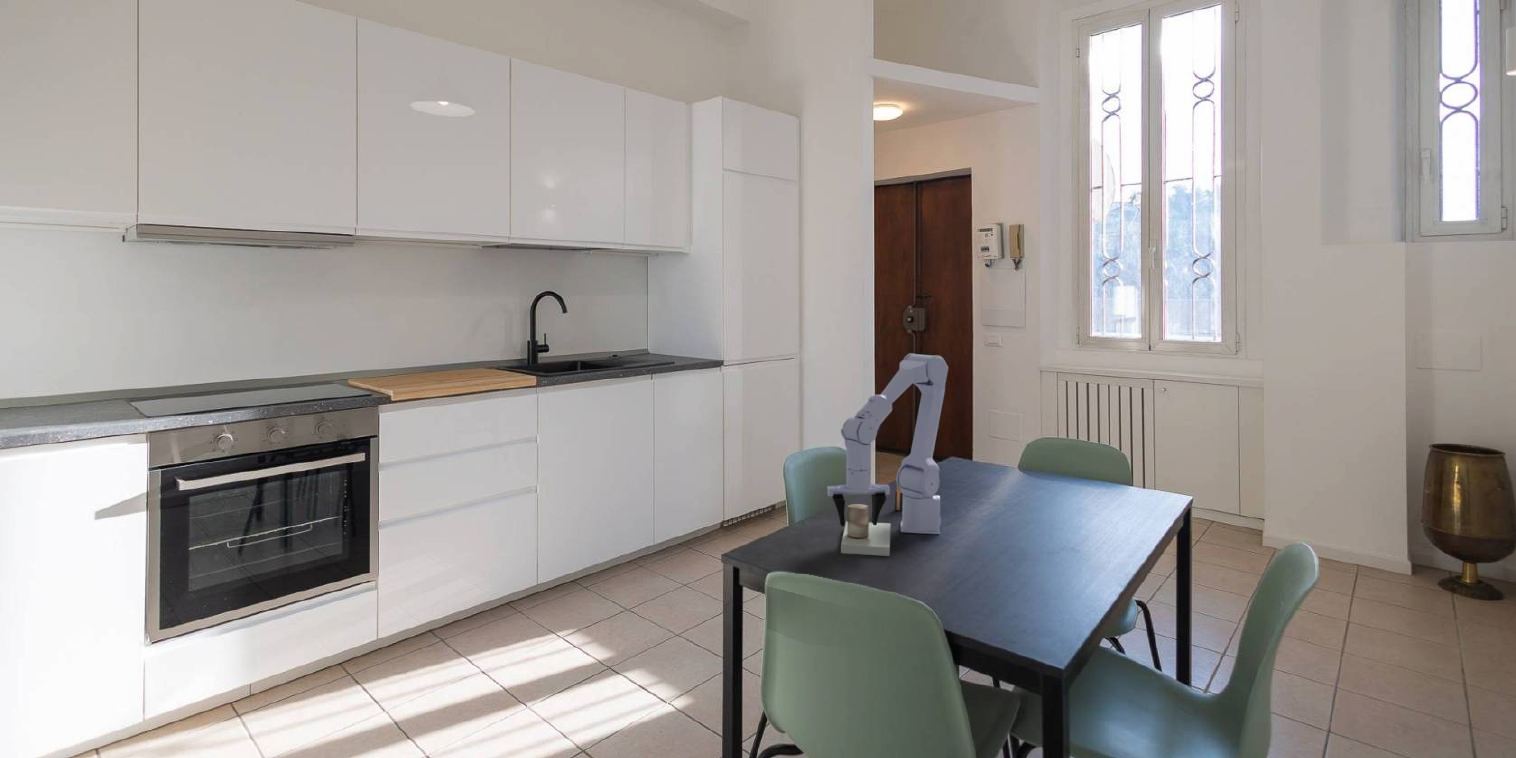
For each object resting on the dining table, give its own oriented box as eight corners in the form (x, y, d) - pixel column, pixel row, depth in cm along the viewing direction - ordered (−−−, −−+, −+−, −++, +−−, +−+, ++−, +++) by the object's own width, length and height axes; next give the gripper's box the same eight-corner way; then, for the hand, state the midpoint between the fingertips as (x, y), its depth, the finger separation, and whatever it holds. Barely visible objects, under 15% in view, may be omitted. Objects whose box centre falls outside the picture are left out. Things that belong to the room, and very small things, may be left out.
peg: (865, 539, 182) (865, 503, 181) (870, 546, 177) (871, 509, 176) (845, 540, 181) (845, 504, 180) (850, 547, 176) (850, 510, 175)
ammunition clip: (900, 511, 205) (901, 468, 204) (894, 510, 206) (895, 467, 205) (920, 503, 213) (921, 461, 212) (914, 502, 214) (915, 460, 213)
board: (890, 531, 188) (890, 523, 188) (889, 555, 171) (889, 547, 170) (846, 528, 190) (846, 521, 190) (840, 553, 173) (840, 544, 172)
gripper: (884, 463, 181) (884, 518, 183) (825, 465, 180) (825, 520, 182) (892, 470, 174) (891, 527, 176) (830, 472, 173) (830, 529, 175)
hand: (858, 524), depth 178 cm, fingers open, 7 cm apart
